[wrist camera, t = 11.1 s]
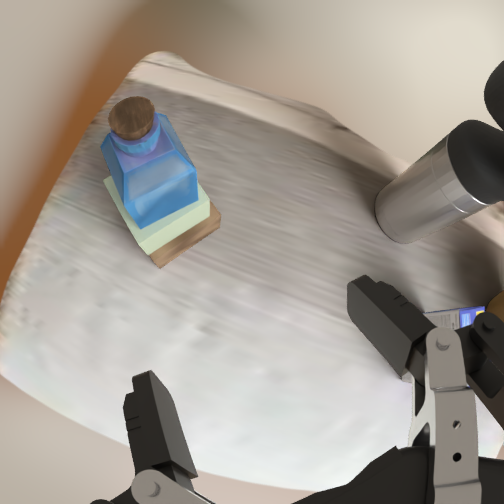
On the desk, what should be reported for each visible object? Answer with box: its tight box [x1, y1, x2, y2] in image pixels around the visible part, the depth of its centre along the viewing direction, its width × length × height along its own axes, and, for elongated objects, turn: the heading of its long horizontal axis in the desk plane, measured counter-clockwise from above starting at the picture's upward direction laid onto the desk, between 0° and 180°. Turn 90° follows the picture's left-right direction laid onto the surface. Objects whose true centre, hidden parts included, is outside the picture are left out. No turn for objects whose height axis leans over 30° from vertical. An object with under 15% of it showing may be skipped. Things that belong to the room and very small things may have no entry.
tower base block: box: [149, 201, 221, 268], centre depth 37 cm, size 9×9×5 cm
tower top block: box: [103, 175, 210, 255], centre depth 32 cm, size 8×8×5 cm
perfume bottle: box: [100, 96, 199, 230], centre depth 24 cm, size 6×6×12 cm
